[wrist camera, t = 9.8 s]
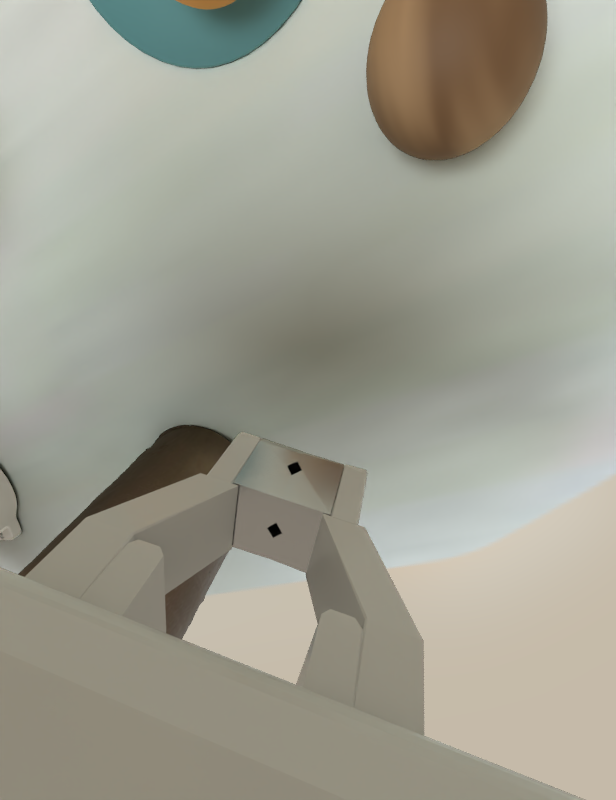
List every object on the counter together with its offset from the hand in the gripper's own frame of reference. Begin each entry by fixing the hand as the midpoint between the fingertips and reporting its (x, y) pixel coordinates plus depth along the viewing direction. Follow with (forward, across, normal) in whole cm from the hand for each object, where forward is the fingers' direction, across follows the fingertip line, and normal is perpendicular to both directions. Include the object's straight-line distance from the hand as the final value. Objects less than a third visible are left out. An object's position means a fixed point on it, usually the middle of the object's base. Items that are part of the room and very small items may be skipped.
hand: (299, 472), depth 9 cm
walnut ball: (+12, -1, -10) cm, 16 cm away
